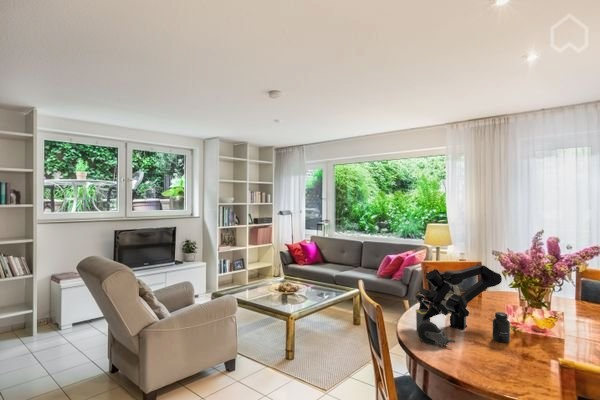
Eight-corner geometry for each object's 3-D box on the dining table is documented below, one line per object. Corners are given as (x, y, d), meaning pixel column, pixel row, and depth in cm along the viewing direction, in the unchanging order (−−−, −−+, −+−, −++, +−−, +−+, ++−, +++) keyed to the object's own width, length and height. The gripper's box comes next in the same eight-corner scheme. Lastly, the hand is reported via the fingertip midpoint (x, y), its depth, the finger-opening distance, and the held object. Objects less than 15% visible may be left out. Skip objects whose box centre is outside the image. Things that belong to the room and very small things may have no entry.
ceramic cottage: (443, 301, 218) (442, 277, 217) (468, 309, 204) (467, 284, 203) (426, 307, 210) (426, 282, 209) (451, 316, 196) (450, 289, 195)
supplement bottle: (503, 344, 153) (503, 317, 153) (489, 339, 159) (488, 312, 159) (513, 341, 156) (513, 314, 156) (498, 336, 162) (498, 310, 162)
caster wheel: (417, 345, 156) (454, 349, 148) (415, 323, 156) (451, 325, 149) (420, 340, 161) (456, 344, 153) (418, 319, 161) (453, 321, 153)
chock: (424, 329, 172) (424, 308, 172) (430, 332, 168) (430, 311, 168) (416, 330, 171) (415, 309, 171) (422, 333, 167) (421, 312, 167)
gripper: (418, 278, 180) (399, 301, 176) (442, 286, 162) (422, 313, 159) (431, 292, 182) (413, 316, 179) (457, 302, 164) (437, 328, 161)
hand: (420, 317), depth 169 cm, fingers closed on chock, 4 cm apart
